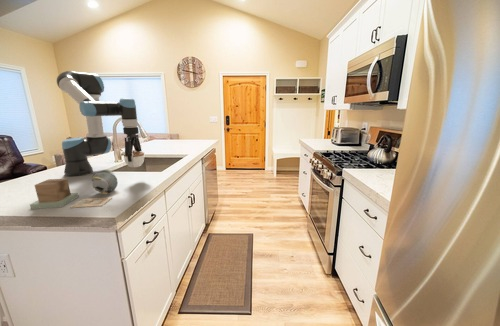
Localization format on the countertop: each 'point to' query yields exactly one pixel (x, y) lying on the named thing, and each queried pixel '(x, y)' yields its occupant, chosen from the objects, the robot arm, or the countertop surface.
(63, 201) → the base plate
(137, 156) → the lidded jar
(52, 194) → the walnut cube
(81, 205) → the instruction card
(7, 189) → the countertop surface
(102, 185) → the decorative toy
